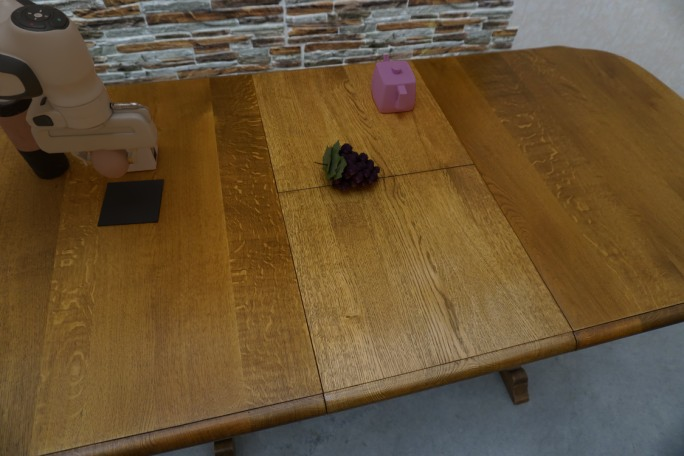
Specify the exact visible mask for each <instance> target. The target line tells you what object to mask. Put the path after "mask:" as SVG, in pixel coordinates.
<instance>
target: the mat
mask: <svg viewBox="0 0 684 456" xmlns="http://www.w3.org/2000/svg"><path fill="white" fill-rule="evenodd" d="M164 181H165V179H164V178H161V179H160V178H158V179H143V180H127V181H126V180H125V181H112V182H107V183H106V188H105V192H104V195H103V200H102V204H101V208H100V212H99V217H98V221H97V225H96V226H97V228H98V227H110V226H111V227H113V226H125V225H140V224H154V223H155V224H156V223H159V217H160V212H161V211H160V210H161V203H162V196H163V188H164V183H165V182H164Z"/></svg>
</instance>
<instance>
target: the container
mask: <svg viewBox="0 0 684 456" xmlns="http://www.w3.org/2000/svg"><path fill="white" fill-rule="evenodd" d="M126 151H127V152H129V150H128V149H126ZM158 151H159V145H158V142H157V143H156V145H155V146H154V147H152V148H138V149H137V153H136V154H137V157H138V161H137V163H134V164H130V165H129V168H128V171H127V172H126V173H129V172H130V173H131V172H132V173H133V172H141V171H142V172H143V171H152V170H153V171H154V170H156V169H157V165H158V164H157V163H158V154H159V153H158Z"/></svg>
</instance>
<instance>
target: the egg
mask: <svg viewBox="0 0 684 456" xmlns="http://www.w3.org/2000/svg"><path fill="white" fill-rule="evenodd" d="M89 154H90V159H91V162H92V164H93V166H92V167H93V168H94V169H95V171H96V172H98V174H100V175H101V176H103V177H105V178H108V179H118V178H121V177H123V176H124V175H125V174H126V173H128V172H127V171H128V168H129V165H130V164H129V163H128V161H127V159H126V157H127V151H126V149H119V150H103V149H100V150H96V151H89Z"/></svg>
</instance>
